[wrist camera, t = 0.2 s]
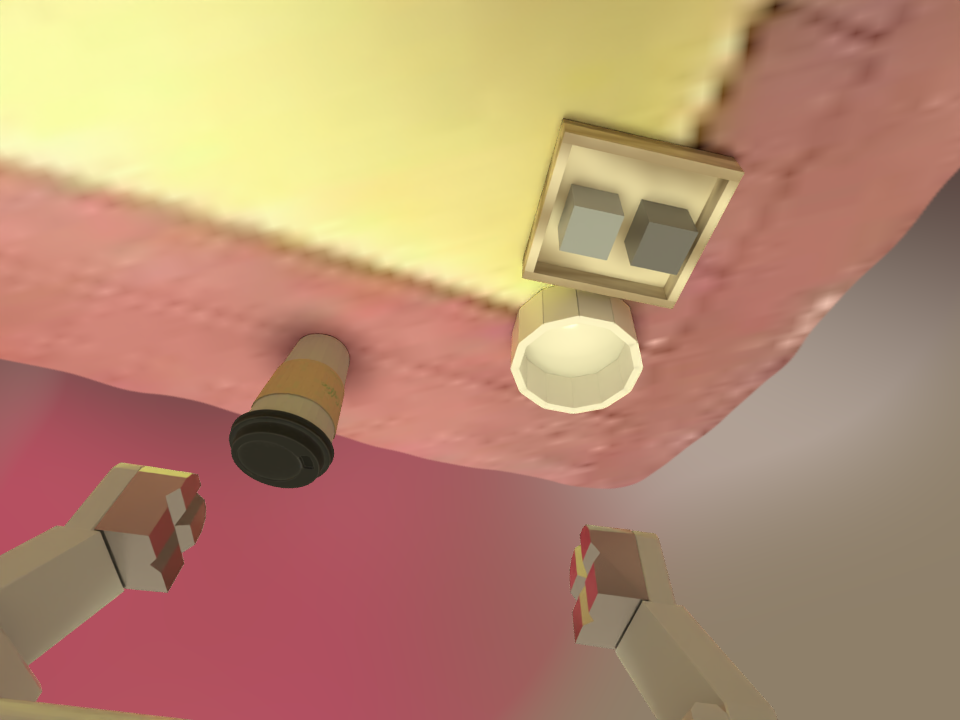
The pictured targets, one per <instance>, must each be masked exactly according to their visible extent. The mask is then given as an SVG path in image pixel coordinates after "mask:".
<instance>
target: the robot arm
mask: <svg viewBox="0 0 960 720" xmlns="http://www.w3.org/2000/svg"><path fill="white" fill-rule="evenodd" d="M200 486H201V483H200V480H199V476H198V474H193V473H187V472H180V471H174V470H168V469H162V468H156V467H149V466H142V465H135V464H128V463H119V464H118V465H116V466H115V467H113V468H112V469H111V470H110V471H109V472H108V474H107V475H106V476H105V477H104V479H103V480H102V481H101V482H100V483H99V485H98V486H97V487H96V488H95V489H94V491H93V492H92V493H91V494H90V496H89V497H88V498H87V499H86V500H85V502H84V503H83V504H82V505H81V507H80V508H79V509H78V510H77V512H76V513H75V514H74V515H73V516H72V518H71V519H70V520H69V521H68V523H67V524H66V525H65V526H64V527H63V526H55V527H53V528H51V529H49V530H47V531H46V532H44V533H42V534H40V535H38V536H36V537H35V538H33V539H31V540H29V541H27V542H25V543H23V544H21V545H19V546H17V547H15V548H14V549H12V550H10V551H8V552H6V553H4V554H2V555H1V556H0V720H188V719H179V718H171V717H163V716H154V715H145V714H137V713H128V712H119V711H110V710H101V709H94V708H85V707H75V706H68V705H59V704H50V703H42V702H36V700H37V699H38V697H39V695H40V694H41V692H42V690H41V685H40V683H39V681H38V680H37V678H36V677H35V676H34V674H33V673H32V671H31V670H30V668H29V667H28V665H29V664H31V663H32V662H33V661H34V660H36V659H37V658H38V657H40V656H41V655H42V654H43V653H45V652H46V651H47V650H49V649H50V648H51V647H53V646H54V645H55V644H56V643H58V642H59V641H60V640H62V639H63V638H64V637H65V636H67V635H68V634H69V633H70V632H72V631H73V630H74V629H76V628H77V627H78V626H80V625H81V624H82V623H83V622H85V621H86V620H87V619H89V618H90V617H91V616H93V615H94V614H95V613H96V612H98V611H99V610H100V609H102V608H103V607H104V606H105V605H107V604H108V603H109V602H110V601H112V600H113V599H114V598H116V597H117V596H118V595H120V594H121V593H122V592H123V591H124V589H123V588H125V589H135V590H146V591H156V592H167V593H168V591H169V589H170V588H171V586H172V584H173V582H174V581H175V579H176V577H177V575H178V574H179V572H180V570H181V568H182V566H183V565H184V560H183V556H182V552H184V551H185V550H187V549H189V548H190V547H192V546H193V545H195V543H196V541H197V539H198V538H199V536H200V534H201V532H202V529H203V525H204V522H205V518H206V505H205V500H204V499H203V498H202V497H201V496H200V495H199V494H198V493H197V491H198V490H199V488H200ZM580 543H581V545H579V546H578V547H576V548H575V549H574V552H573V555H572V558H571V564H570V573H569V574H570V575H569V581H570V593H571V594H572V595H573V597H574V598H575V599H576V601H577V602H576V604H575V607H574V609H573V612H572V616H573V627H574V637H575V643H576V644H583V645H590V646H596V647H602V648H609V649H616V650H615V653H616V654H617V656H618V658H619V659H620V661H621V662H622V664H623V666H624V667H625V669H626V670H627V672H628V674H629V675H630V677H631V679H632V680H633V682H634V683H635V685H636V686H637V688H638V690H639V691H640V693H641V695H642V696H643V698H644V699H645V701H646V703H647V704H648V706H649V708H650V709H651V711H652V713H653V714H654V716H655V717H656V719H657V720H778V719H777V716H776V713H775V710H774V709H773V708H772V707H771V706H770V704H769V703H768V702H767V701H766V700H765V699H764V698H763V696H762V695H761V694H760V693H759V692H758V691H757V690H756V689H755V687H754V686H753V685H752V684H751V683H750V682H749V680H748V679H747V678H746V677H745V676H744V675H743V674H742V672H741V671H740V670H739V669H738V668H737V667H736V666H735V664H734V663H733V662H732V661H731V660H730V659H729V658H728V656H726V654H725V653H724V652H723V651H722V650H721V649H720V647H718V645H717V644H716V643H715V642H714V641H713V639H712V638H711V637H710V636H709V635H708V634H707V633H706V631H705V630H704V629H703V628H702V627H701V626H700V625H699V623H698V622H697V621H696V620H695V619H694V618H693V617H692V616H691V614H690V613H689V612H688V611H687V610H686V608H685V607H684V606H681V605H676V602H675V598H674V594H673V591H672V587H671V583H670V579H669V576H668V571H667V568H666V564H665V560H664V556H663V552H662V549H661V545H660V541H659V538H658V537H657V535H656V534H654V533H647V532H639V531H630V530H627V529H619V528H611V527H602V526H594V525H585V526H584V527H583V528H582V531H581V533H580Z"/></svg>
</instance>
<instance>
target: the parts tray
mask: <svg viewBox="0 0 960 720" xmlns="http://www.w3.org/2000/svg"><path fill="white" fill-rule="evenodd" d="M743 175H744V171H743V170H742V168H741V167H740V166H739V164H738V163H737V162H736V160H735V159H734V158H733V157H729V156H725V155H720V154H716V153H712V152H707V151H703V150H699V149H694V148H690V147H685V146H681V145H677V144H672V143H668V142H664V141H659V140H655V139H651V138H646V137H642V136H638V135H633V134H629V133H624V132H620V131H616V130H611V129H607V128H603V127H598V126H594V125H590V124H585V123H581V122H577V121H572V120H568V119H563V121H562V124H561V128H560V131H559V135H558V138H557V142H556V145H555V149H554V152H553V156H552V160H551V163H550V167H549V170H548V174H547V177H546V181H545V184H544V188H543V191H542V195H541V198H540V202H539V205H538V209H537V212H536V216H535V219H534V223H533V226H532V230H531V233H530V237H529V240H528V244H527V247H526V251H525V254H524V258H523V269H522V278H524V279H529V280H534V281H539V282H543V283H548V284H553V285H558V286H563V287H568V288H573V289H577V290H582V291H587V292H592V293H597V294H602V295H607V296H611V297H616V298H621V299H626V300H631V301H636V302H641V303H645V304H650V305H655V306H660V307H665V308H670V309H673V307H674V305H675V303H676V301H677V299H678V297H679V295H680V294H681V292H682V290H683V288H684V286H685V284H686V282H687V280H688V278H689V277H690V275H691V273H692V271H693V269H694V267H695V265H696V263H697V261H698V260H699V258H700V256H701V254H702V252H703V250H704V248H705V246H706V244H707V243H708V241H709V239H710V237H711V235H712V233H713V231H714V229H715V227H716V226H717V224H718V222H719V220H720V218H721V216H722V214H723V212H724V210H725V209H726V207H727V205H728V203H729V201H730V199H731V197H732V195H733V193H734V192H735V190H736V188H737V186H738V184H739V182H740V180H741V178H742V176H743ZM571 184H575V185H579V186H584V187H588V188H593V189H597V190H602V191H607V192H611V193H616V194H618V195H619V198H620V202H621V205H622V209H623V213H624V216H625V217H624V219H623V222H622V224H621V227H620V229H619V232H618V234H617V236H616V239H615V241H614V244H613V246H612V249H611V251H610V254H609V256H608V259H607V260H602V259H597V258H592V257H588V256H583V255H578V254H573V253H569V252H564V251H559V239H558V224H559V221H560V218H561V215H562V212H563V209H564V206H565V202H566V199H567V196H568V193H569V190H570V187H571ZM641 199H643V200H647V201H652V202H656V203H661V204H665V205H670V206H675V207H679V208H684V209H688V211H689V213H690V216H691V218H692V220H693V222H694V224H695V226H696V228H697V230H698V232H699V233H698V235H697V237H696V239H695V240H694V242H693V244H692V246H691V248H690V250H689V252H688V254H687V256H686V258H685V260H684V262H683V264H682V266H681V268H680V270H679V272H678V274H677V275H673V274H668V273H664V272H659V271H654V270H649V269H645V268H640V267H635V266H630V262H629V259H628V255H627V251H626V247H625V243H624V240H625V238H626V236H627V233H628V231H629V228H630V226H631V224H632V221H633V219H634V216H635V214H636V211H637V209H638V207H639V204H640V202H641Z"/></svg>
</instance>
